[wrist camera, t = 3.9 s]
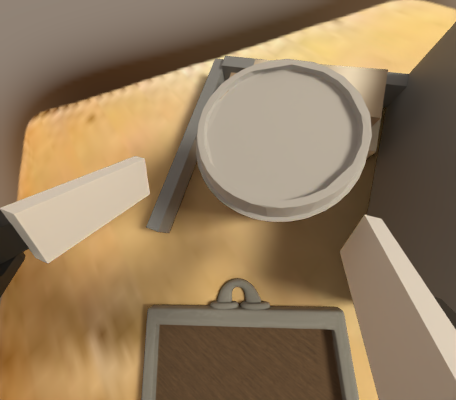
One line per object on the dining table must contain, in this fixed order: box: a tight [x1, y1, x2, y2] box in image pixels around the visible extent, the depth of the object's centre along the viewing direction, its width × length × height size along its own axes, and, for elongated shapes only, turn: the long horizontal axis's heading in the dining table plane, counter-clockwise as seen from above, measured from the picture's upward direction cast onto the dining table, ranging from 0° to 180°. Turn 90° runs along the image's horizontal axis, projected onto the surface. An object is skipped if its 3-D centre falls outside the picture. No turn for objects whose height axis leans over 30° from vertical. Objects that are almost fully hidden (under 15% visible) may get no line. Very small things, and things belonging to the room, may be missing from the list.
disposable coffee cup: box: [196, 59, 372, 222], centre depth 15 cm, size 10×10×12 cm
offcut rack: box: [146, 22, 456, 313], centre depth 16 cm, size 23×23×10 cm
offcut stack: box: [229, 59, 388, 159], centre depth 20 cm, size 18×6×6 cm, turn 73°
